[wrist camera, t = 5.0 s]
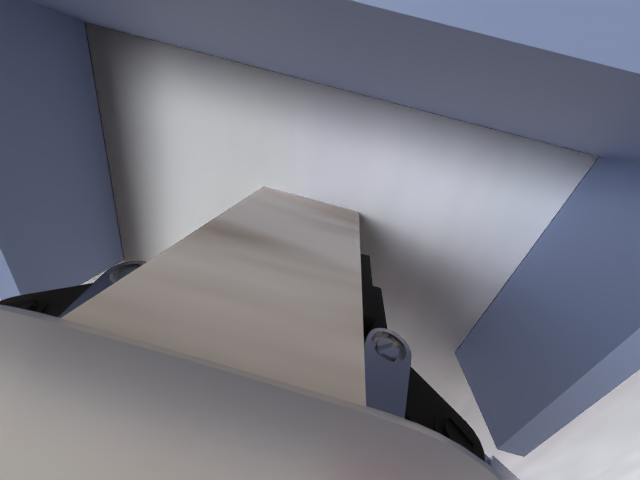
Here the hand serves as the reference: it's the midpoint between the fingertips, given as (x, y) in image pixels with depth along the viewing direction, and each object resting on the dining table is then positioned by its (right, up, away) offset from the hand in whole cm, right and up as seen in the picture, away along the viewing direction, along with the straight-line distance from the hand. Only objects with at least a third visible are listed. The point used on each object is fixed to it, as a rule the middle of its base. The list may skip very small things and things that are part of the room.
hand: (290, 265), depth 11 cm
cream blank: (0, +1, +2) cm, 3 cm away
